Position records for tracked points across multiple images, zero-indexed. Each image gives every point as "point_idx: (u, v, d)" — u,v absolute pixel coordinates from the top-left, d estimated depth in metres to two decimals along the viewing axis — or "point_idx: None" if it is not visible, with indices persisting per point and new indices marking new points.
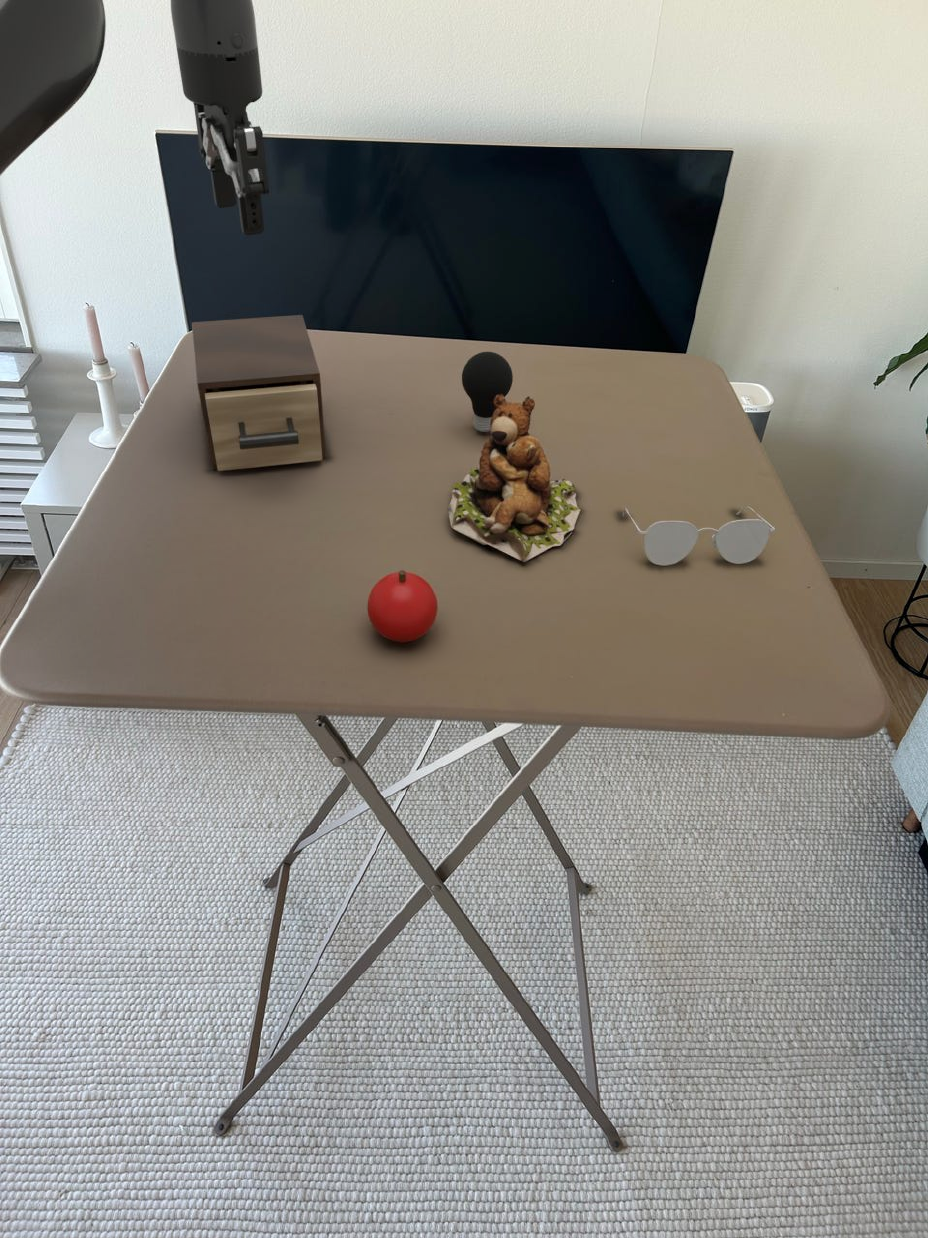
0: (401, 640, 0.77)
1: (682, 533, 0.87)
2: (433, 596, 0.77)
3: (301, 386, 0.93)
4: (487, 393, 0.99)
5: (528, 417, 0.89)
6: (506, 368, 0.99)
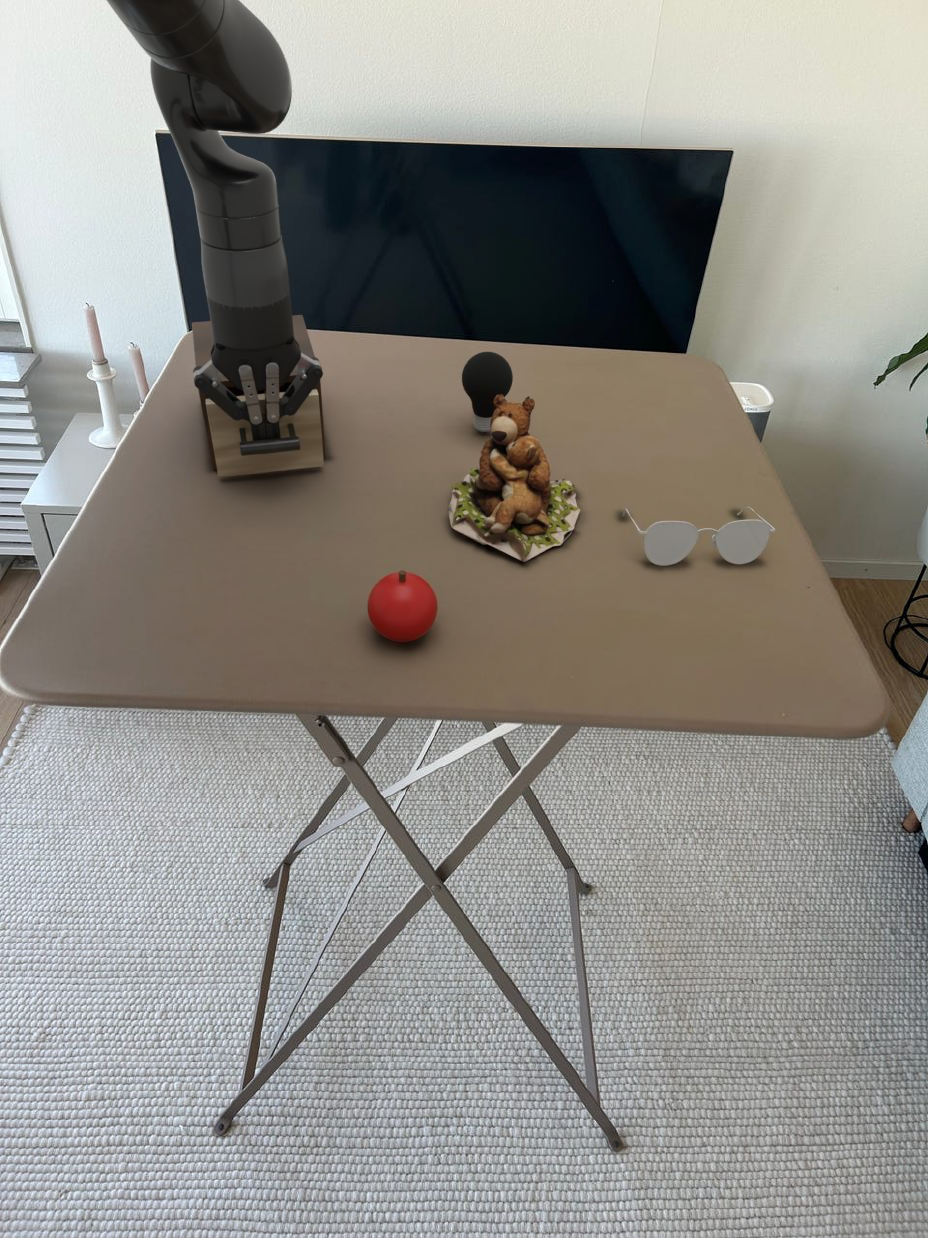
0: (401, 640, 0.77)
1: (682, 533, 0.87)
2: (433, 596, 0.77)
3: None
4: (487, 393, 0.99)
5: (528, 417, 0.89)
6: (506, 368, 0.99)
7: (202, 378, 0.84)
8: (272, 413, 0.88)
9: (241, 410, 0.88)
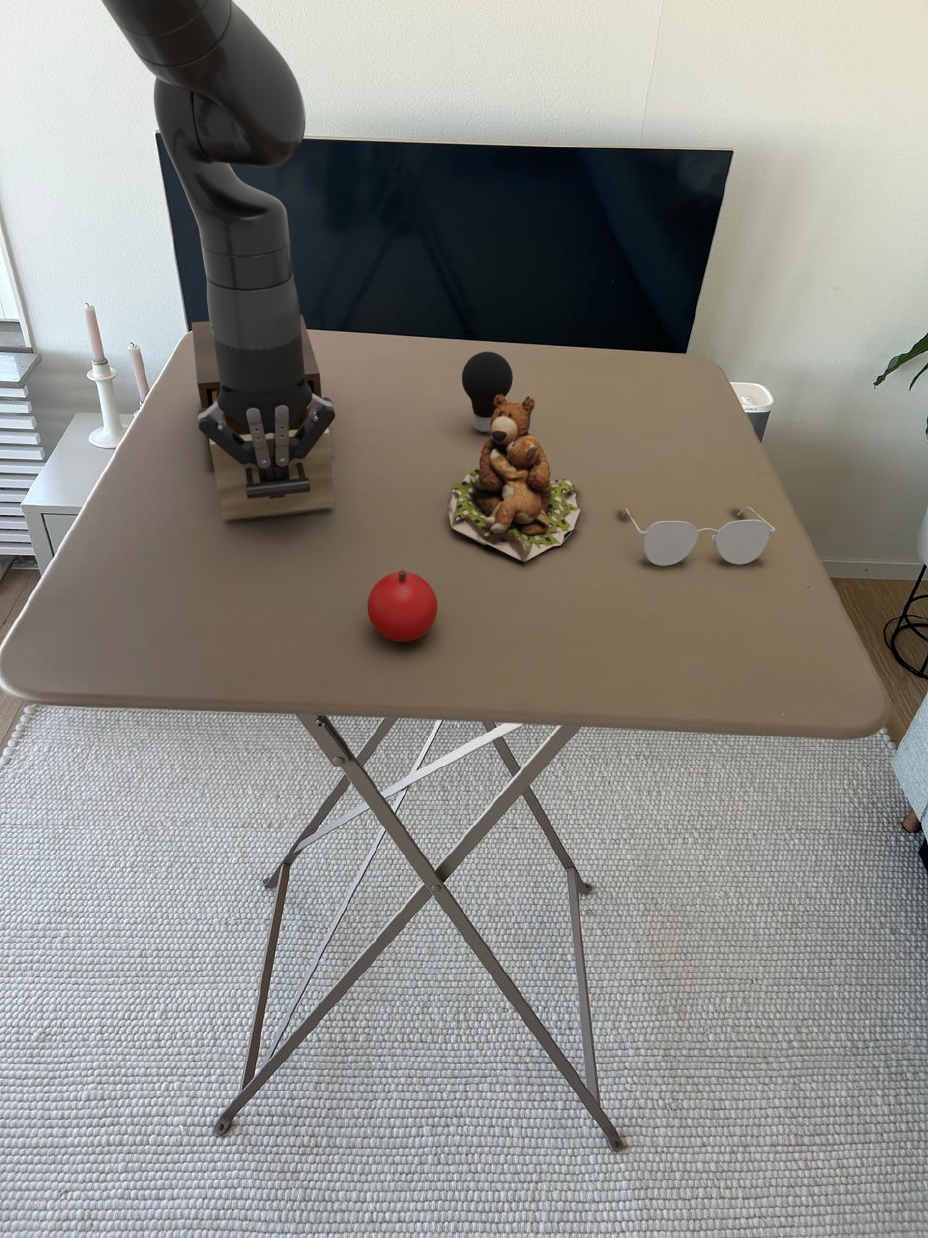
0: (401, 640, 0.77)
1: (682, 533, 0.87)
2: (433, 596, 0.77)
3: None
4: (487, 393, 0.99)
5: (528, 417, 0.89)
6: (506, 368, 0.99)
7: (207, 421, 0.79)
8: (281, 457, 0.83)
9: (248, 454, 0.82)
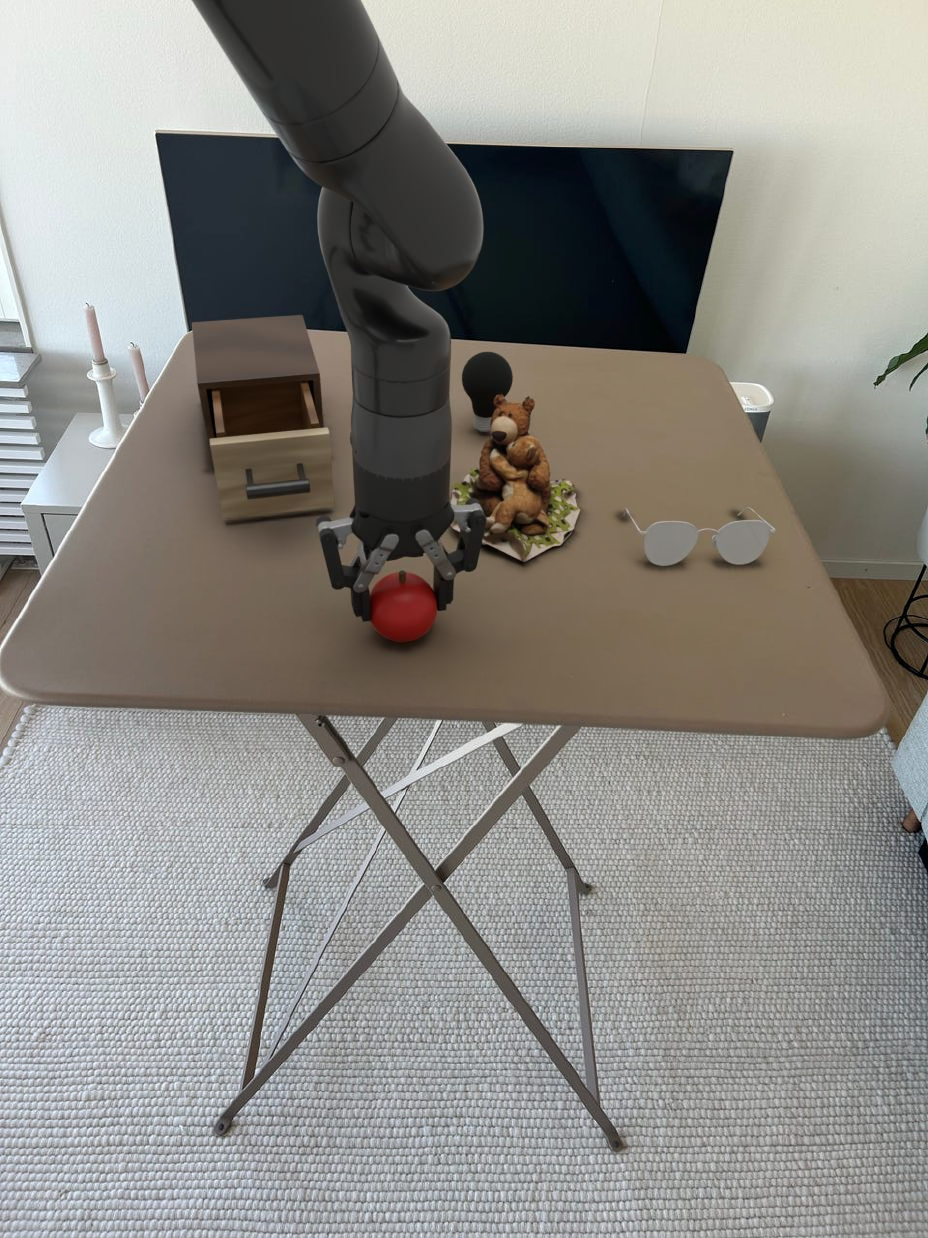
0: (401, 640, 0.77)
1: (682, 533, 0.87)
2: (433, 596, 0.77)
3: (313, 430, 0.86)
4: (487, 393, 0.99)
5: (528, 417, 0.89)
6: (506, 368, 0.99)
7: (333, 535, 0.69)
8: (446, 571, 0.75)
9: None
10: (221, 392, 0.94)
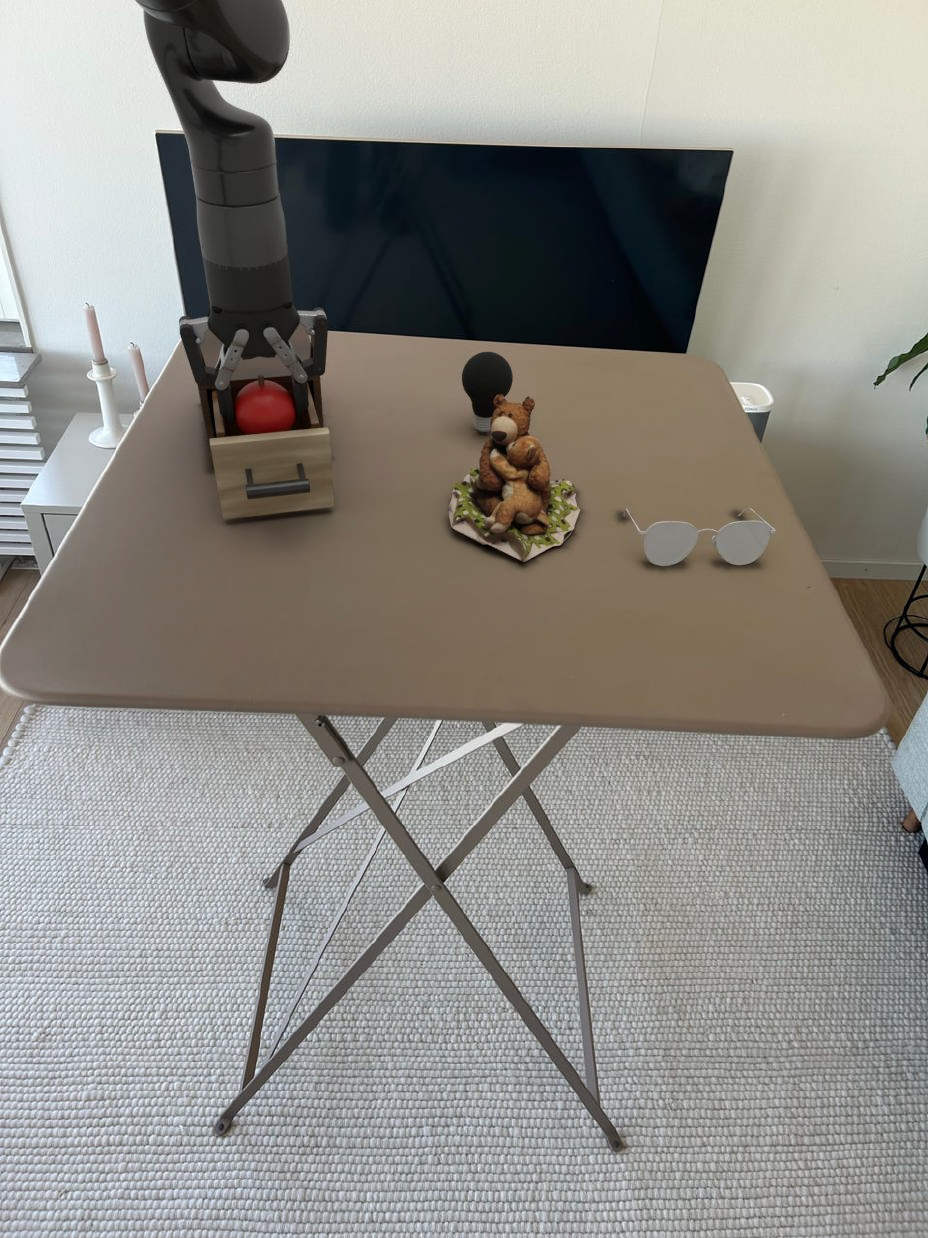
0: None
1: (682, 533, 0.87)
2: (290, 400, 0.88)
3: (313, 430, 0.86)
4: (487, 393, 0.99)
5: (528, 417, 0.89)
6: (506, 368, 0.99)
7: (190, 329, 0.81)
8: (298, 374, 0.86)
9: (205, 374, 0.84)
10: None
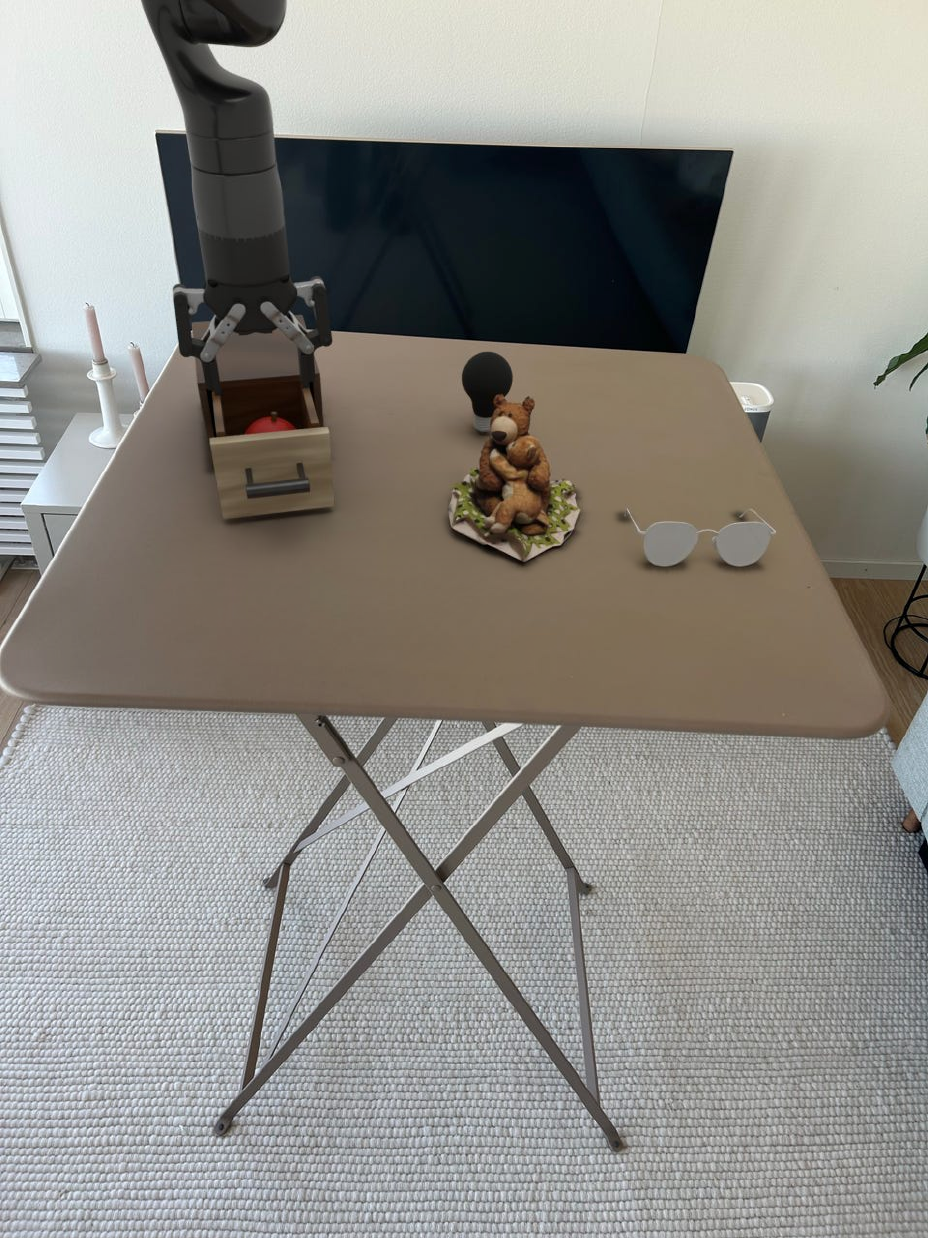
0: None
1: (682, 534, 0.87)
2: None
3: (312, 430, 0.86)
4: (487, 393, 0.99)
5: (528, 417, 0.89)
6: (506, 368, 0.99)
7: (185, 298, 0.79)
8: (304, 345, 0.85)
9: None
10: None
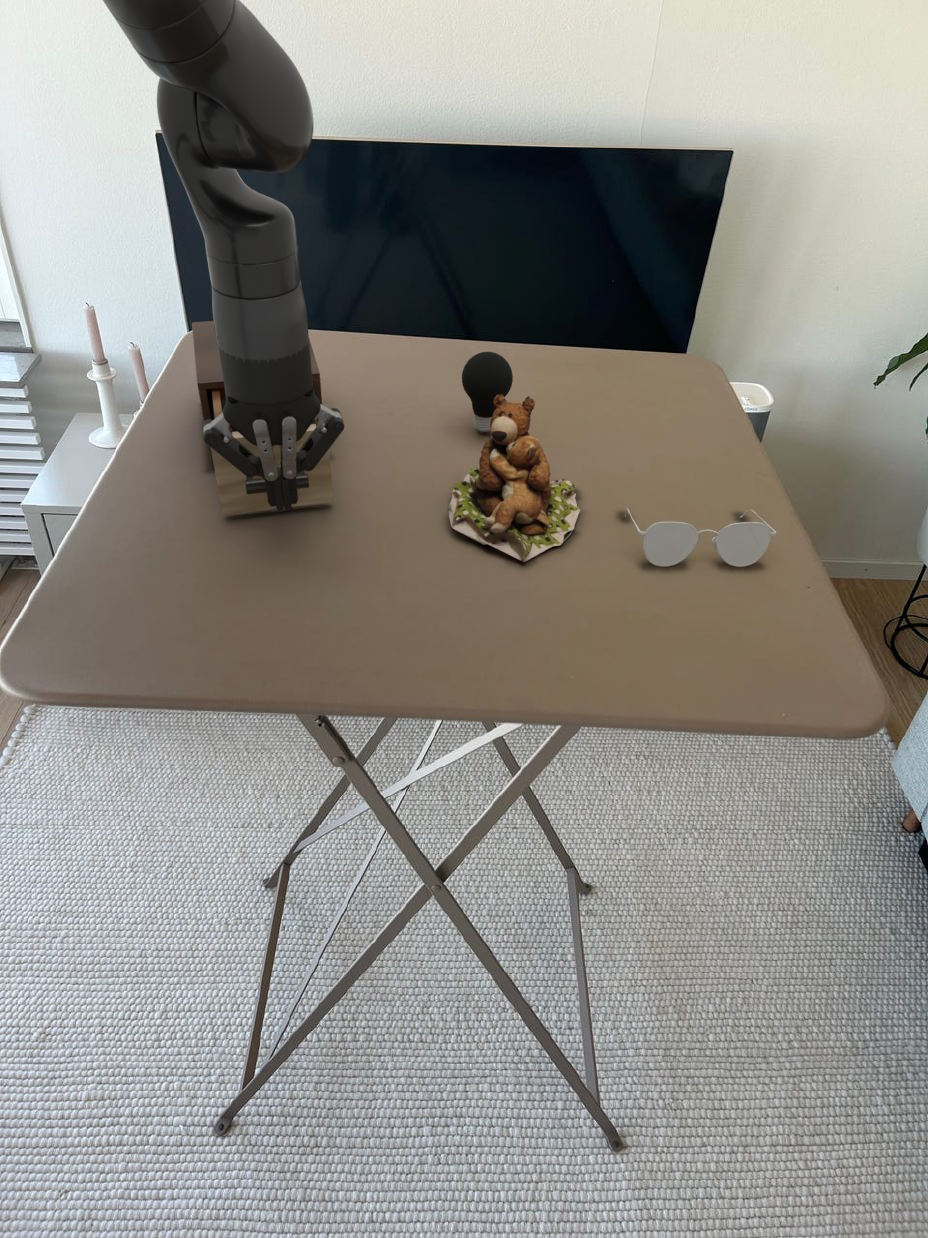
0: None
1: (682, 534, 0.87)
2: None
3: (311, 426, 0.87)
4: (487, 393, 0.99)
5: (528, 417, 0.89)
6: (506, 368, 0.99)
7: (212, 433, 0.77)
8: (288, 469, 0.81)
9: (255, 466, 0.80)
10: (221, 388, 0.95)
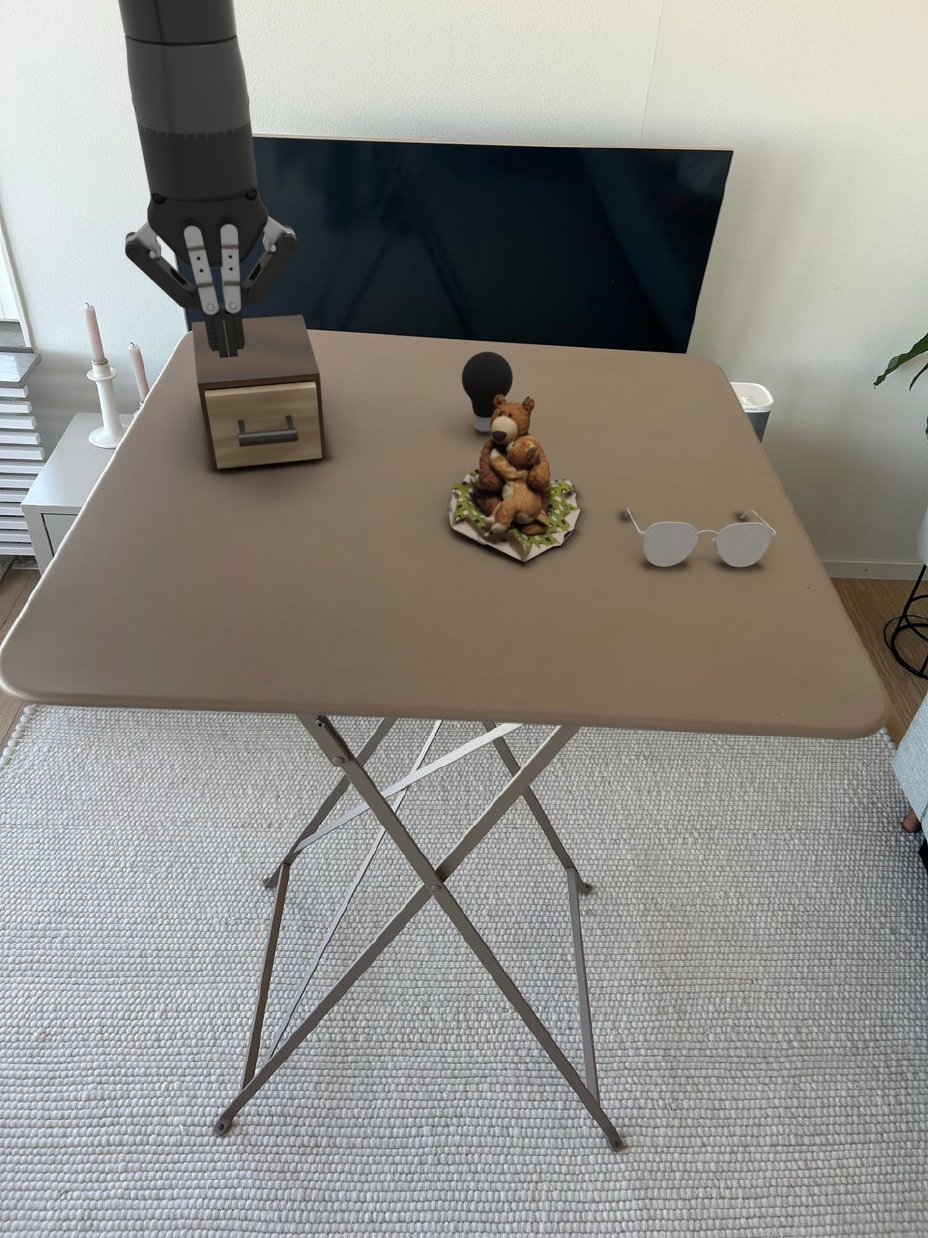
0: None
1: (682, 534, 0.87)
2: None
3: (300, 384, 0.93)
4: (487, 393, 0.99)
5: (528, 417, 0.89)
6: (506, 368, 0.99)
7: (135, 245, 0.63)
8: (231, 299, 0.67)
9: (190, 294, 0.67)
10: None
